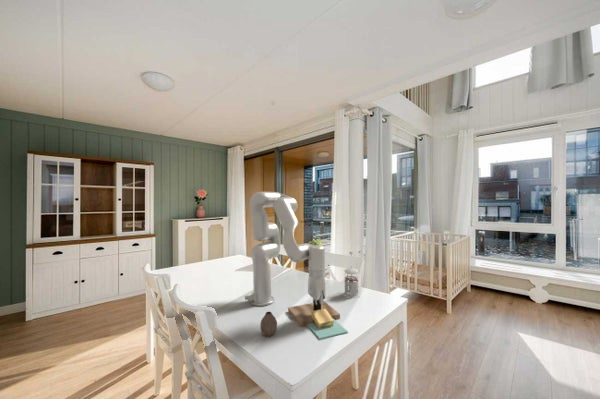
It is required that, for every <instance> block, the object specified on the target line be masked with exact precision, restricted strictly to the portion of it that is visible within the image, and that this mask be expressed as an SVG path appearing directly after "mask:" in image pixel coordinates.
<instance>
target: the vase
mask: <svg viewBox="0 0 600 399" xmlns="http://www.w3.org/2000/svg"><path fill="white" fill-rule="evenodd" d="M259 327H260V332H261V333H262V335H264V336H265V337H271V336H273V335H274V334H276V332H277V329H278V321H277V318H276V317H275V316H274V315H273V313H272V311H266V312H265V314H264V316H263V317H262V318H261V320H260V326H259Z"/></svg>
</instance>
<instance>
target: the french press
mask: <svg viewBox="0 0 600 399" xmlns="http://www.w3.org/2000/svg"><path fill="white" fill-rule="evenodd" d="M352 254H354V253H353V251H349V255H352ZM343 271H344V275H346V274H347V275H346V276H344V292H343V293H342V295H343V296H344V297H346V298H349V299H355V298H359V297H361V294H360V293H359V279H358V277H357V276H354V274H358V273H359V270H358V269H356V268H353V267H349V268H346V269H344V270H343Z"/></svg>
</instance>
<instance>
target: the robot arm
mask: <svg viewBox="0 0 600 399" xmlns="http://www.w3.org/2000/svg"><path fill="white" fill-rule="evenodd" d="M249 207H250V208H249V209H250V213H251V224H252V227H251V228H252V238H253V239H254V240H255V241H257V242H260V243H257V244H255V245H254V246H252V248H251V251H250V253H251V254H250V255H251V260H252V267H253V268H252V270H253V273H252V274H253V278H252V279H253V292H252V293H251V294H250V295H244V300H246V301H248V302H249V301H250V303H251V305H253V306H256V307H266V306H269V305H271V304H273V303H274V301H275V297H274V296H272V268H271V265H270V263H269V260H271V259H275V258H277V257H278V256H279V255H280V254H281V242H282V246H283V248H284V251H285V253H286V255H287V256H288V258H289V260H290V261H292V262H293V263H300V262H302V261H306V260H308V281H307V294H308V295H309V297H311V298H312V303H314V304H313V310H314V311H316V310H321V304H322V303H324V301H325V300H326V296H327V295H326V294H327V293H326V290H327V289H326V281H325V277H326V250H325V247H324V246H323V245H318V244H317V245H314V244H312V243H307V242H305V243H300V244H298V243H297V241H296V239H295V236H294V234H295V230H296V228H297V227H298V225H299V220H298V218H297V216H296V213H295V212H296V211H297V210H298V208H299V206H298V202H297V200H296V199H295V198H294V197H292V196H289V195H286V194H285V193H284V194H283V193H281V192H277V191H257V192H255V193H254V194H253V195H252V196H251V198H250V200H249ZM265 208H273V209H274V212H275V214H276V217H277V219H278V221H279V223H280V225H281V227H282V238H280V236H281V234H280V229H279V227H278V225H277V224H276V223H275V222H269V220H268V219H269V216H268V213H267V211H266V209H265ZM281 239H282V241H281ZM263 241H266V242H263Z"/></svg>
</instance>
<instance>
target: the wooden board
mask: <svg viewBox="0 0 600 399" xmlns="http://www.w3.org/2000/svg"><path fill="white" fill-rule="evenodd" d="M323 301H324V303H322V304H321V309H326V310H327V311H328V313H329V314H330V316H331V317H332V318H333V319H335V320H339V319H341V313H339V312H338V311H337V310H336V309H334V307H332V306H331V305H330V304H328V303H327V302H326V301H325V300H323ZM313 304H314V303H313V302H312V303H306V304H305V303H304V304H299V305H296V306H295V305H293V306H291V307H290V306H289V307H287V312H288V313H289V314H290V316H291V317H292V319H293V320H294V321H295V322H296V323H297V325H298V326H299V327H300V328H301V327H306V326H307V327H308V324H310V323H315V322H314V320H313V318H312V317H311V313H312V311H314V310H313Z"/></svg>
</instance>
